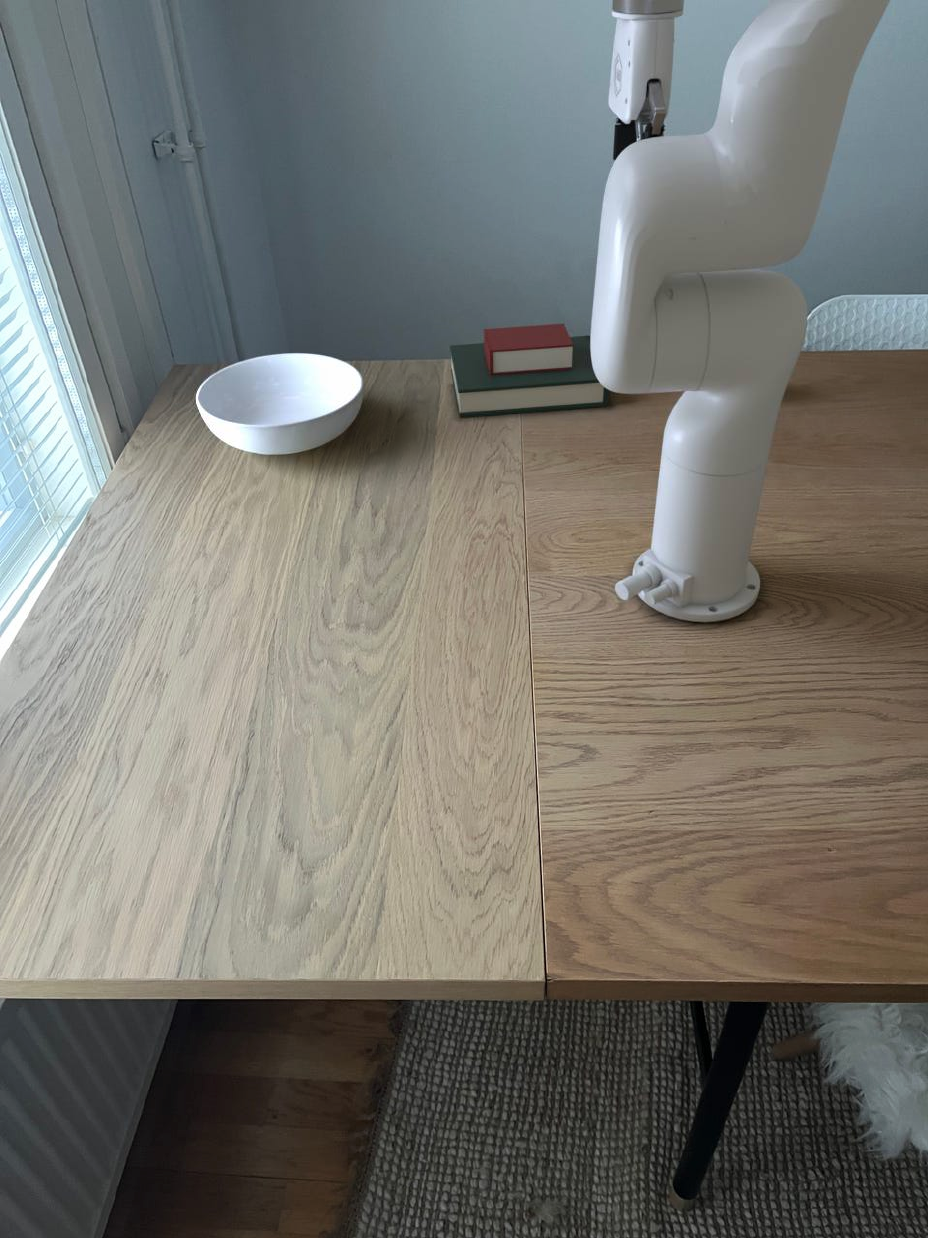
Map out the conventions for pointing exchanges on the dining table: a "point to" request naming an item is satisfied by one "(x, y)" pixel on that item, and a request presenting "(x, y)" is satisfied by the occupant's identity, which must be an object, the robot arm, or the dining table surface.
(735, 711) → the dining table surface
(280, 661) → the dining table surface
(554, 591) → the dining table surface
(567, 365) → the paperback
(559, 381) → the hardcover
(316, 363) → the serving bowl
